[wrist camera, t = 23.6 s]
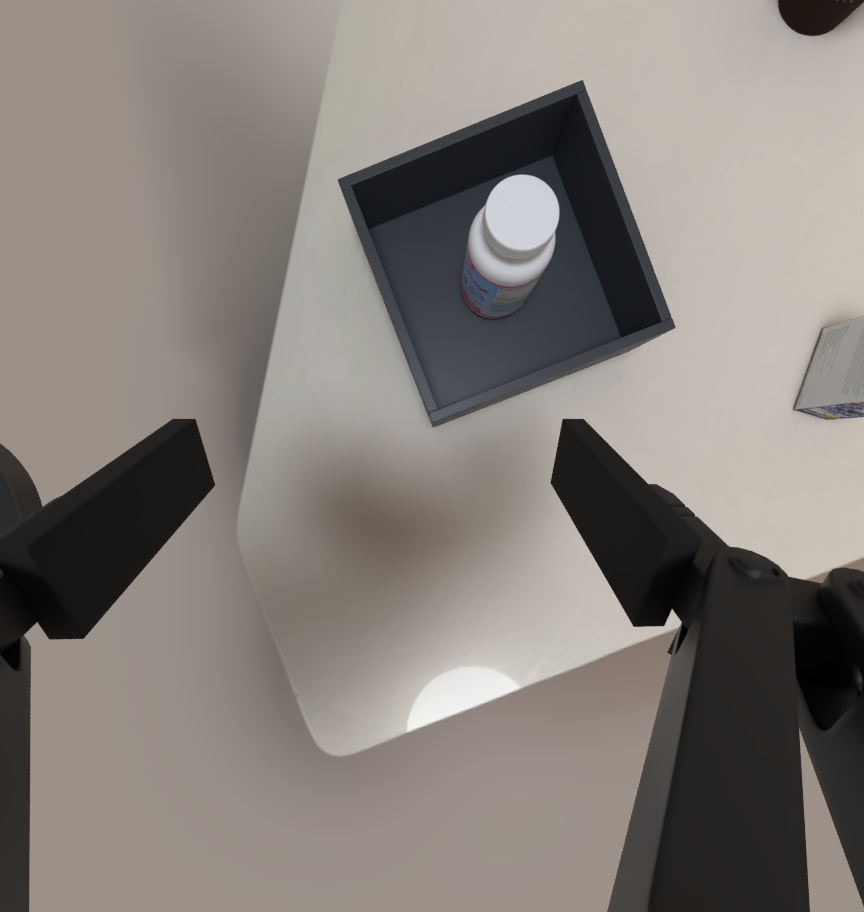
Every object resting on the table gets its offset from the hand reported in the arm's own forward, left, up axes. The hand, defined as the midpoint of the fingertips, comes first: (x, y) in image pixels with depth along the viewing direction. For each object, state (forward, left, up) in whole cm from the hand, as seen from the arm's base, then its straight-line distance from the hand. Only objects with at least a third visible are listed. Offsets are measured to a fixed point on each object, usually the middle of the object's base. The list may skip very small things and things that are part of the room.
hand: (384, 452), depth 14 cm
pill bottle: (-12, +11, -21) cm, 27 cm away
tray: (-12, +11, -22) cm, 27 cm away
